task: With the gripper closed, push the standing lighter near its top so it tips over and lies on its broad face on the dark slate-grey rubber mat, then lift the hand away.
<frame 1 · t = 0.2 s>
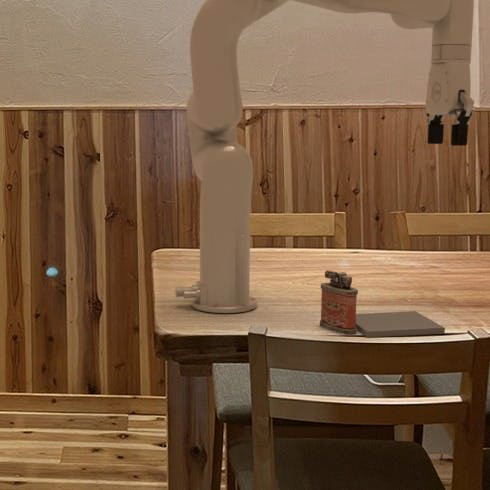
hand: (446, 144, 158), 31 cm above the table, tool pointing down, fingers open, 9 cm apart
lighter: (337, 330, 138), on the table
mat: (392, 326, 140), on the table
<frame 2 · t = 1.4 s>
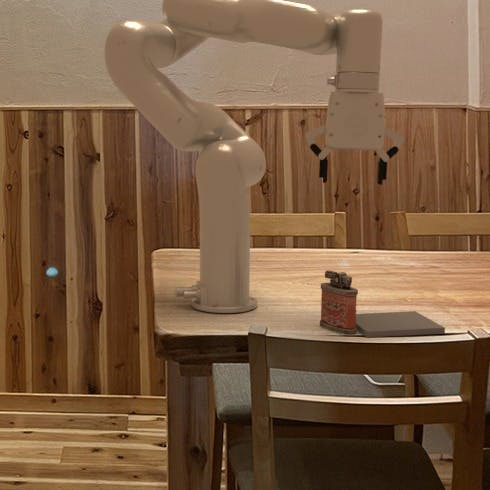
hand: (352, 183, 141), 25 cm above the table, tool pointing down, fingers open, 9 cm apart
nothing on the table moved.
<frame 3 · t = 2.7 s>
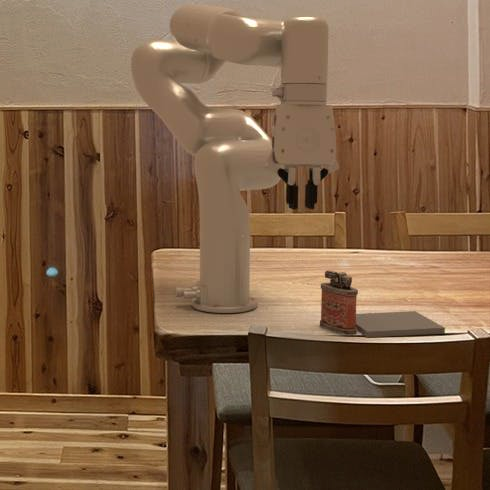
hand: (301, 207, 133), 21 cm above the table, tool pointing down, fingers closed
nothing on the table moved.
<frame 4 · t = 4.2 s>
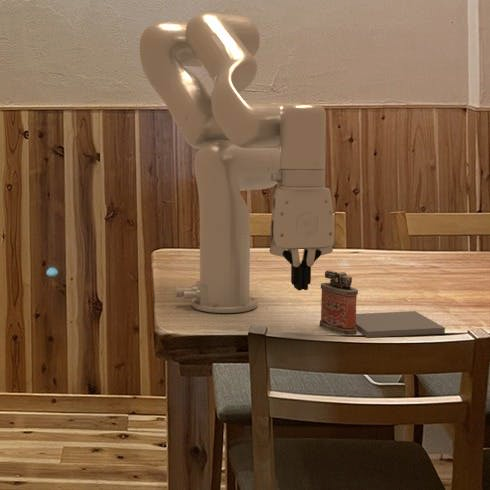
hand: (300, 288, 135), 7 cm above the table, tool pointing down, fingers closed
nothing on the table moved.
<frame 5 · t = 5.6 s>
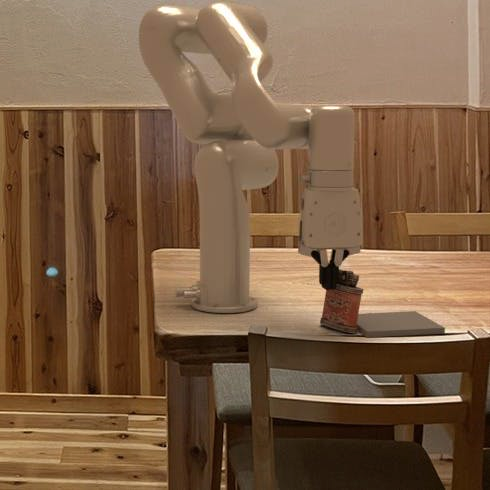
hand: (328, 288, 136), 7 cm above the table, tool pointing down, fingers closed
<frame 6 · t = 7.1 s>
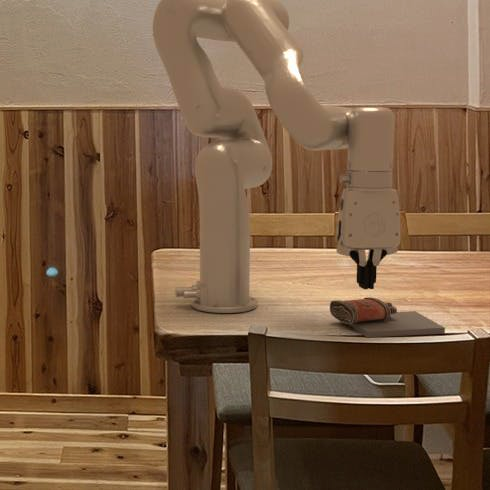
hand: (366, 287, 138), 7 cm above the table, tool pointing down, fingers closed
lighter: (340, 312, 139), point 3 cm above the table, touching mat
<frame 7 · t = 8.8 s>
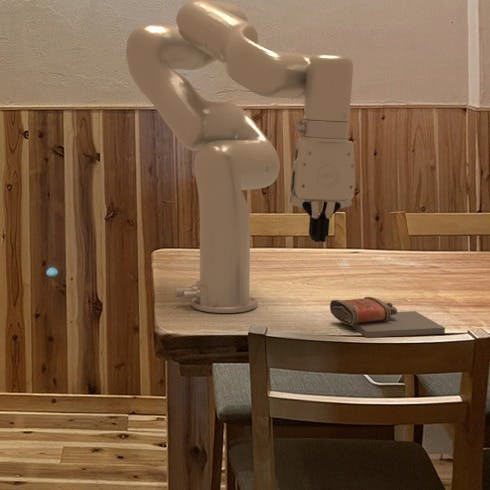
hand: (318, 240, 136), 15 cm above the table, tool pointing down, fingers closed
nothing on the table moved.
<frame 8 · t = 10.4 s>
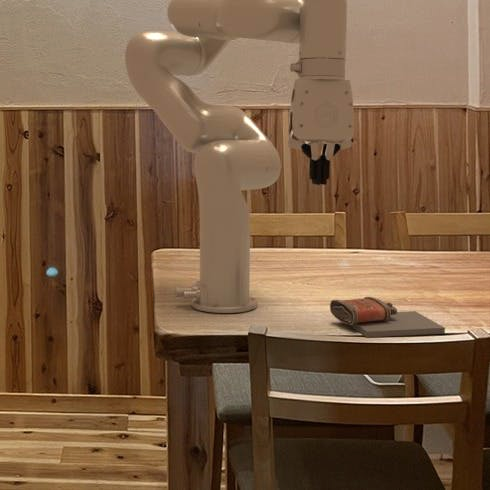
hand: (319, 183, 133), 25 cm above the table, tool pointing down, fingers closed
nothing on the table moved.
at the end: lighter tilted 90°; lighter touching mat; the gripper is holding nothing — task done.
